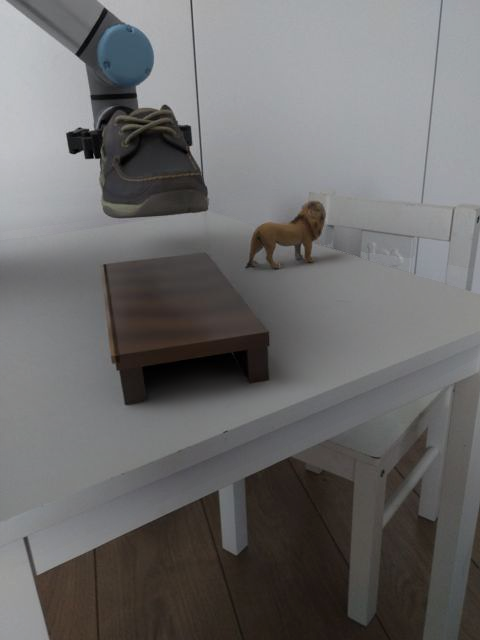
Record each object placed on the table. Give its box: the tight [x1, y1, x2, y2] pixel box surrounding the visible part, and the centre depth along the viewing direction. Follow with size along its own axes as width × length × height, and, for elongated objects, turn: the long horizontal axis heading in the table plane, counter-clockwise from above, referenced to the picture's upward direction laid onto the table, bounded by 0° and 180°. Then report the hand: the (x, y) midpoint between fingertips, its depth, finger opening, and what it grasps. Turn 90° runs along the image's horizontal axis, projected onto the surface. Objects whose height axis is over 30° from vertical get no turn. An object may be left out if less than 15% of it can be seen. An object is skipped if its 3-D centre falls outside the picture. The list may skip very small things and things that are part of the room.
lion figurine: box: [244, 200, 327, 269], centre depth 88 cm, size 15×5×9 cm, turn 122°
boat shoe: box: [98, 103, 210, 219], centre depth 64 cm, size 11×29×11 cm, turn 24°
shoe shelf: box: [100, 251, 271, 405], centre depth 65 cm, size 30×14×5 cm, turn 16°
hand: (137, 143), depth 67 cm, fingers closed on boat shoe, 9 cm apart
